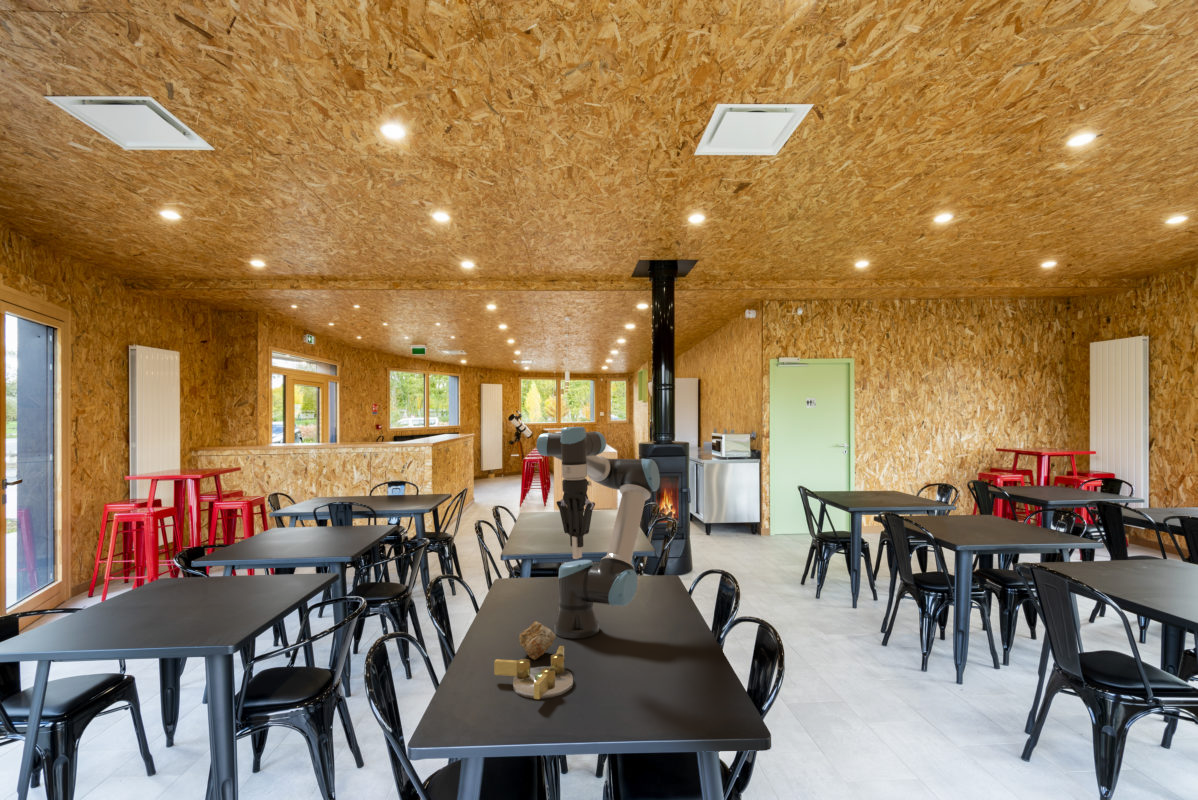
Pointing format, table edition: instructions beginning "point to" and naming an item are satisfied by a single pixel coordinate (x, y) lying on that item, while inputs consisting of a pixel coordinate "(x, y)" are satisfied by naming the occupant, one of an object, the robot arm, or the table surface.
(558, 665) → the knob
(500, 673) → the knob
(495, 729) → the table surface
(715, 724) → the table surface
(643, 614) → the table surface
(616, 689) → the table surface
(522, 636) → the rock
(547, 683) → the knob
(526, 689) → the tribrach plate
